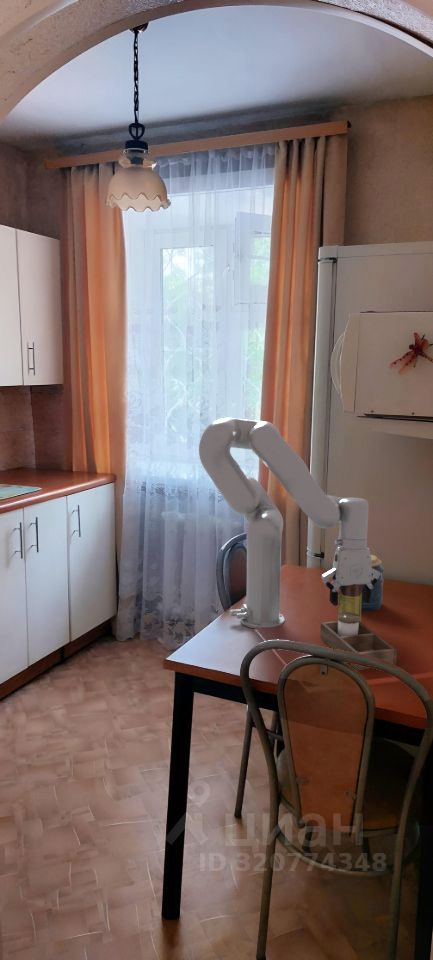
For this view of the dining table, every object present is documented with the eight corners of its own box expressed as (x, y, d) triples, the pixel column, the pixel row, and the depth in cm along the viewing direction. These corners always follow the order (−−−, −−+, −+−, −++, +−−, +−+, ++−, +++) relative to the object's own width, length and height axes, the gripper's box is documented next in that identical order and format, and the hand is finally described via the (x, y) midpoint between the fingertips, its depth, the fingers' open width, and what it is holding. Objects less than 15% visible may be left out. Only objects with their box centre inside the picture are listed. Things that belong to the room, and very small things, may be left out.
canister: (389, 604, 204) (393, 549, 201) (368, 615, 194) (372, 557, 191) (352, 595, 212) (355, 541, 209) (330, 605, 203) (333, 549, 200)
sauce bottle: (345, 621, 189) (348, 554, 186) (364, 627, 185) (368, 559, 182) (332, 627, 184) (335, 559, 181) (351, 634, 180) (355, 563, 177)
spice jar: (342, 648, 169) (343, 620, 168) (333, 639, 174) (334, 613, 173) (361, 645, 171) (363, 618, 169) (352, 637, 176) (353, 611, 174)
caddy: (355, 673, 157) (356, 654, 156) (320, 639, 176) (320, 622, 175) (395, 668, 160) (396, 649, 159) (356, 636, 179) (357, 619, 178)
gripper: (329, 548, 175) (327, 610, 178) (388, 544, 179) (384, 604, 182) (317, 541, 182) (315, 600, 185) (374, 537, 187) (371, 596, 189)
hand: (349, 602), depth 183 cm, fingers open, 9 cm apart
